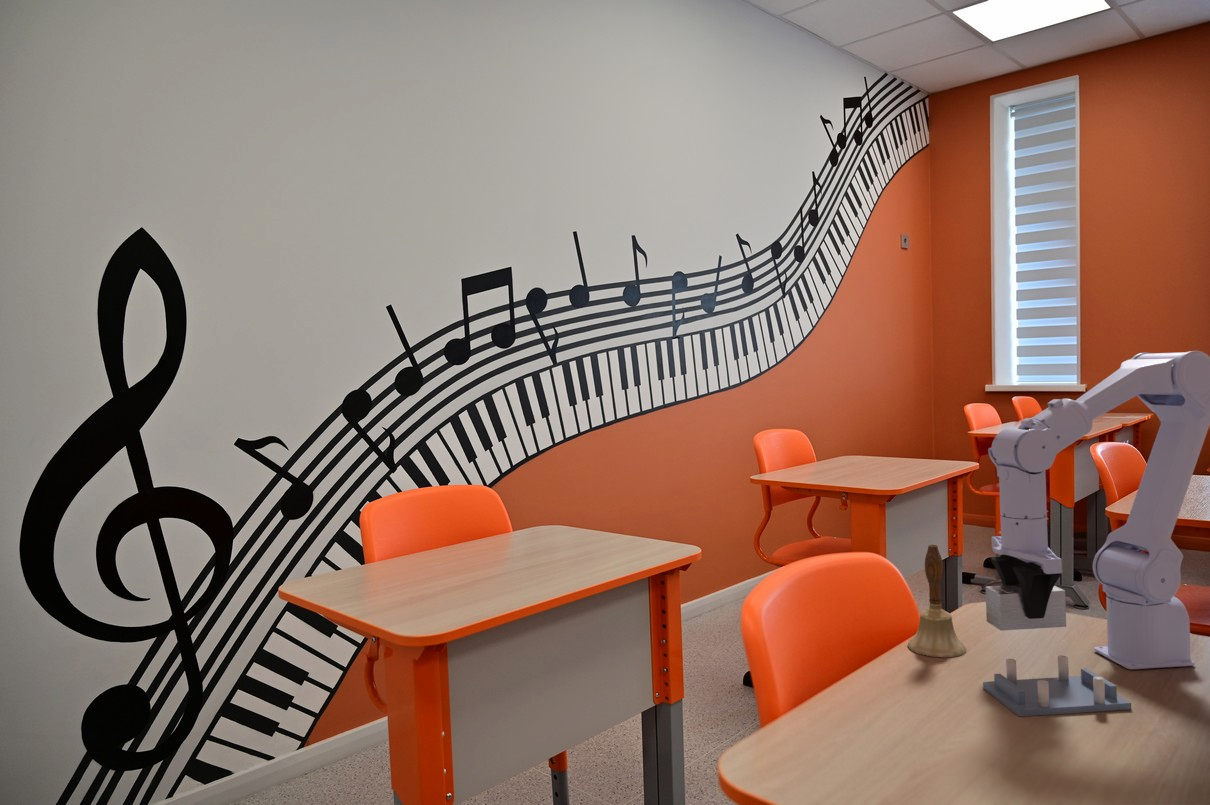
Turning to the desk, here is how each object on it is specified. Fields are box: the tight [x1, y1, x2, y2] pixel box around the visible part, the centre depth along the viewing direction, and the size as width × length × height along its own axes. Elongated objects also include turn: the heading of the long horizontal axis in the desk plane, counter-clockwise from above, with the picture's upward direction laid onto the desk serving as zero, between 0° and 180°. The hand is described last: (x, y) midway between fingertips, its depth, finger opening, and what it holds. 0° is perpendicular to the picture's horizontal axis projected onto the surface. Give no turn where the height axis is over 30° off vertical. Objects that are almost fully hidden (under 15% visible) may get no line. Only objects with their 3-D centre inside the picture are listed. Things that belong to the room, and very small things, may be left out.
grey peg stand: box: [982, 654, 1132, 717], centre depth 104 cm, size 14×9×4 cm, turn 92°
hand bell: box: [907, 544, 967, 659], centre depth 124 cm, size 8×8×16 cm
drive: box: [985, 584, 1067, 631], centre depth 113 cm, size 9×4×5 cm, turn 91°
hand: (1026, 612), depth 113 cm, fingers closed on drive, 4 cm apart
